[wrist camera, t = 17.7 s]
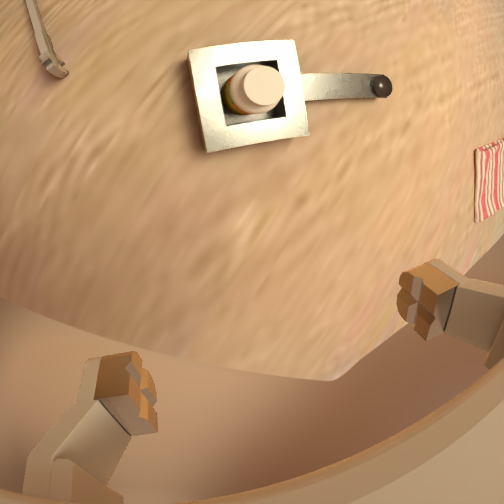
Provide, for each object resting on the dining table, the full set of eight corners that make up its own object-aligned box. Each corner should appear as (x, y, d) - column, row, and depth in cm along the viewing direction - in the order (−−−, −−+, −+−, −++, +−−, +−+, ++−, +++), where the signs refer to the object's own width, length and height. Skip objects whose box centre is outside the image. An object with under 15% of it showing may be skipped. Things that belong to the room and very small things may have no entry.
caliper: (70, 74, 26) (52, 66, 21) (64, 79, 26) (45, 72, 21) (30, -18, 17) (13, -33, 11) (24, -14, 17) (6, -27, 11)
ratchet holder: (203, 149, 35) (207, 153, 31) (186, 59, 29) (188, 50, 25) (382, 125, 39) (401, 127, 35) (372, 50, 33) (391, 46, 29)
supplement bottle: (211, 89, 31) (223, 76, 23) (248, 66, 31) (272, 49, 22) (236, 123, 34) (256, 123, 25) (272, 101, 34) (302, 95, 25)
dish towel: (513, 193, 55) (522, 198, 52) (471, 221, 53) (482, 226, 50) (513, 133, 47) (523, 136, 44) (470, 148, 45) (482, 151, 42)
